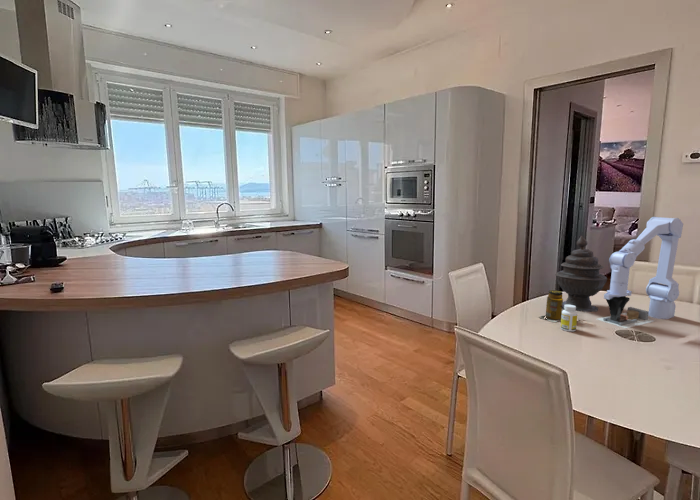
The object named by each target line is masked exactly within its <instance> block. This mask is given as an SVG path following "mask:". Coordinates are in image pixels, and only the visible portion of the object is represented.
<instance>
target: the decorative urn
mask: <svg viewBox="0 0 700 500" xmlns="http://www.w3.org/2000/svg"><path fill="white" fill-rule="evenodd" d="M588 243H589V242H588V241H587V240H586V239H585V238H584V237H583V235H580V237H579V239H578V240H577V241H576V245H577V246H578V247H579V249H574V250H572V251H571V252H570V253H571V254H570V255H568V256H566V257H565V262H562V263H561V264H560V266H561V267H562V268H563V270H560V271H558V272H556V273H555V280H556V281H557V285H558V286H559V287H560V288H561V290H562V292H564V293H565V294H567V298H566V300H563V304H562V310H565V309H564V305H567V304H568V305H574V306H576V310H575V311H576V312H581V313H582V312H584V313H592V312H593V313H594V312H595V313H596V312H598V311H599V307H598V306H596V305H592V301H591V298H590V297H593V296H595V295H597V294H598V293H599V292H600V291H602V290H603V289H604V286H605V285H606V284H607V280H608V278H607V276H606V275H604V274H602V273H600V270H601V269H603V268H604V266H603V265H601V264H599V257H596V256H594V251H592V250H590V249H587V248H585V247H586V246H587V245H588Z"/></svg>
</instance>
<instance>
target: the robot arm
mask: <svg viewBox="0 0 700 500" xmlns="http://www.w3.org/2000/svg"><path fill="white" fill-rule="evenodd" d="M683 227H684V223H683V221H682V220H681V219H680V218H679V217H660V216H652V217H650V219H649V220H647V221H646V228H644V230H643V231H642V232H641V233H640V234H639V235H638V237H637V238H634V239H630V240H629V241H628V242H627V243H626V244H625V245H624V246H622V247H621V249H619V250H618V251H615V252H613V253H612V254H610V257H608V258H609V259H608V262H609V264H610V270H611V272H610V273H611V276H610V284H609V289H607V290H606V292H605V293H604V294H603V299H605V300H606V303H607V305H608V309H609V310H608V311H609V314H610V316H611V315H615V316H616V315H617V313H618V308H619V307H621V313H623V311H624V308H625V307H626V305H627V304H628V302H630V299H631V298H630V297H631V296H632V292H633V291H631V290H628V285H629V279H630V278H629V276H630V269H631V267H633V266H634V264H635V261H636V260H637V257H638V256H639V255H640V254H641V253H642V252H643V251H644V250H645V248H646V247H645V245H646V244H647V243H649V242H650V241H651V240H652V239H654V238H655V237H656V236H658V237H659V238H660V240H661V245H660V250H659V255H658V256H659V257H658V263H657V268H656V274H655V276H654V277H651V278H649V281H648V283H647V284H646V287H645V293H646V295H647V296H648V298H649V307H648V311H649V313H648V317H651V318H654V319H660V320H670V319H671V318H675V313H676V302H675V301H676V300H678V298H679V296H680V290H679V285H680V284H679V283H678V282H677V281H676V280H675V279H674V278H673V274H674V268H675V263H676V256H677V251H678V247H679V246H678V244H679V239H680V238H682V234H683V233H682V232H683ZM628 296H629V297H628Z"/></svg>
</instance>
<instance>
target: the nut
mask: <svg viewBox="0 0 700 500" xmlns="http://www.w3.org/2000/svg"><path fill="white" fill-rule="evenodd" d="M626 313H627V316H628V319H631V320H633V319H637V320H638V316H639V312H637V311H633V310H627V311H626Z"/></svg>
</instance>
